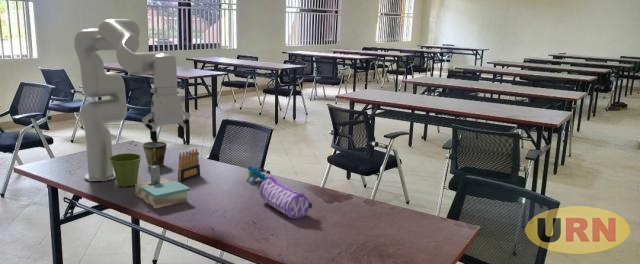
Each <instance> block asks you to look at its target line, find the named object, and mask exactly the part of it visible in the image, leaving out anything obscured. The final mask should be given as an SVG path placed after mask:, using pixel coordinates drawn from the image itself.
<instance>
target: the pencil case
mask: <svg viewBox="0 0 640 264" xmlns="http://www.w3.org/2000/svg"><path fill="white" fill-rule="evenodd" d="M266 177H267V178H268V179H266V180H262V182H261V184H260V185H259V189H258V190H259V191H258V192H259V193H258V194H259V196H260V198H261V200H263V201H264V202H265V203H267V204H268V205H270V206H271V207H273V209H276V210H277V211H279V212H280V213H283V214H284V215H286V216H288V217H289V218H291V219H292V220H293V219H294V220H295V219H300V218H303V217H305V216H306V215H307V214H308V211H309V210H311V209H313V203H312V202H310V200H309V198H308V197H307V195H305V194H306V193H305V192H300V191H295V190H293V189H291V188H289V187H287V186H286V185H285V184H282V183H281V182H280V181H278V179H276V178H274V177H275V176H273V175H269V176H266Z"/></svg>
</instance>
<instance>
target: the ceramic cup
mask: <svg viewBox="0 0 640 264" xmlns="http://www.w3.org/2000/svg"><path fill="white" fill-rule="evenodd" d="M167 144H168V143H167V142H165V141H160V140H159V141H158V140H157V142H156V143H155V142H153V141H152V140H151V141H147V142H144V143H143V144H142V147H143V152H144V156H145V158H146V162H147V167H148V166H149V168H150V167H151V166H155V165H157V166H159V168H161V167H160V166H162V167H164V164H165V163H164V162H165V155H166V151H167Z"/></svg>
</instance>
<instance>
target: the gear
mask: <svg viewBox="0 0 640 264" xmlns="http://www.w3.org/2000/svg"><path fill="white" fill-rule="evenodd" d="M247 170H248V177H247V179H246V182H249V180H250V179H251V178H252V179H251V180H250V182H249V184H250V185H253V184H254V183H255V181H256V180H257V179H259V180H261V181H264V180H266V179H268V178H267V176H266V175H265V174H264V173H262V171H261V170H259V169H257V168H256V167H253V166H252V165H249V166H247Z"/></svg>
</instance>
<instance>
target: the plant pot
mask: <svg viewBox="0 0 640 264" xmlns="http://www.w3.org/2000/svg"><path fill="white" fill-rule="evenodd" d="M142 158H143V156H142V155H141V154H139V153H129V152H125V153H124V152H123V153H118V154H115V155H113V156H111V157H110V160H111V162H112V165H113V170H114V172H115V176H116V178H115V180H116V184H117V186H118V185H119V187H120V186H122V187H121V188H124V187H125V188H126V187H127V186H131V187H134V186H133V185H135V184H138V179H139V177H138V176H139V170H140V164H141V160H142ZM127 188H128V187H127Z"/></svg>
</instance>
